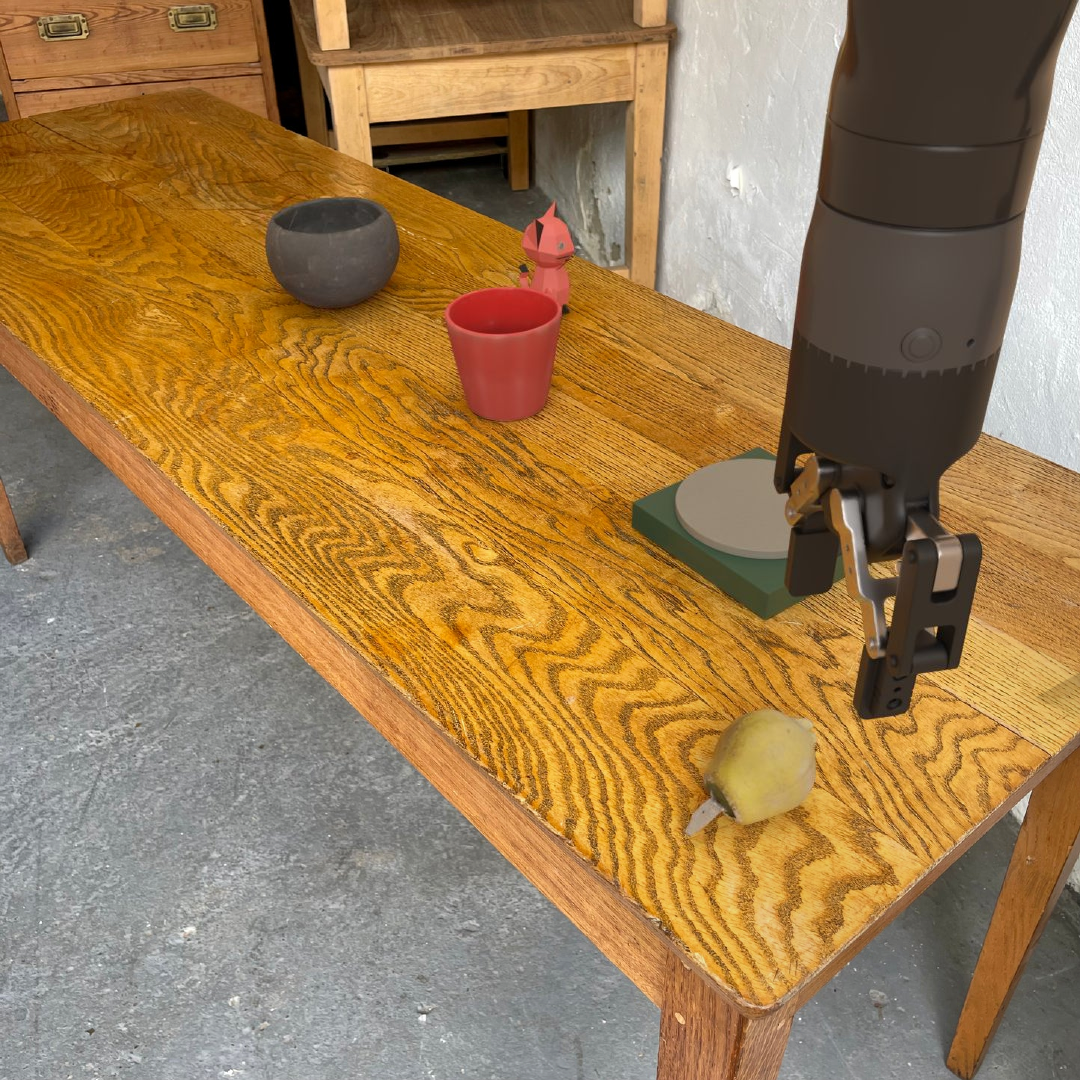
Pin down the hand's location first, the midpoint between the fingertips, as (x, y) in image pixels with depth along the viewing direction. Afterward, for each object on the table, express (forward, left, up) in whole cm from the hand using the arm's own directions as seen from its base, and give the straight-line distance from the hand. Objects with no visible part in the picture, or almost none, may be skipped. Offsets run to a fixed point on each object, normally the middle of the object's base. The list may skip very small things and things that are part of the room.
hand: (840, 647), depth 50 cm
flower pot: (+56, -19, -18) cm, 62 cm away
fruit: (+6, -2, -18) cm, 19 cm away
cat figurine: (+70, -34, -18) cm, 80 cm away
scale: (+25, -22, -17) cm, 37 cm away
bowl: (+89, -18, -18) cm, 92 cm away
